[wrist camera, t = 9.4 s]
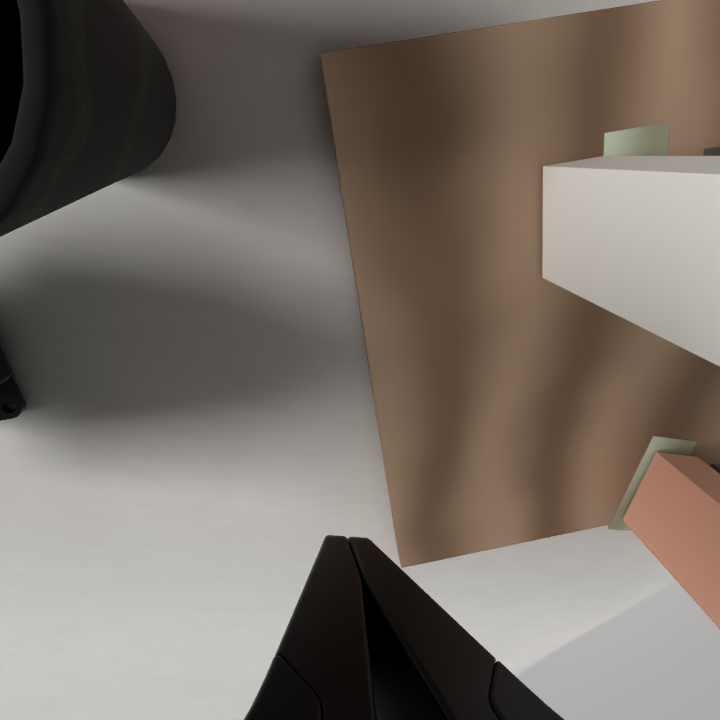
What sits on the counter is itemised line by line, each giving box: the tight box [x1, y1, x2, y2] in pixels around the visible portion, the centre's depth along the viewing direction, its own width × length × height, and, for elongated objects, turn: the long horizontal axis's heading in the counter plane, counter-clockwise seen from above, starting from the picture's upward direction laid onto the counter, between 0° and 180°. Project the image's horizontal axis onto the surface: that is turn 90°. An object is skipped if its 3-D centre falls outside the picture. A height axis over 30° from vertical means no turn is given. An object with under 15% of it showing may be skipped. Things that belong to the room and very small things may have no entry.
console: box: [320, 0, 720, 568], centre depth 21 cm, size 19×25×4 cm
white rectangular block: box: [542, 156, 720, 367], centre depth 15 cm, size 2×4×10 cm, turn 9°
